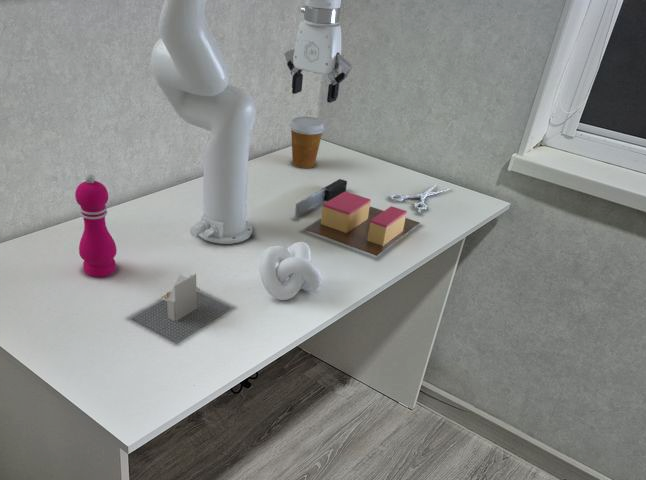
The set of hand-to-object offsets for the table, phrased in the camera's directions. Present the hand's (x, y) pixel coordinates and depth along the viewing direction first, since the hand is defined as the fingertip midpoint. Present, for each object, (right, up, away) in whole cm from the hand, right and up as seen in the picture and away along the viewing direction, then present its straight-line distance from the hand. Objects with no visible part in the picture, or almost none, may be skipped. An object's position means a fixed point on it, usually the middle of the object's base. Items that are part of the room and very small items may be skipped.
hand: (313, 96), depth 150 cm
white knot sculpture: (-8, -48, -24) cm, 54 cm away
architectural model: (-27, -53, -32) cm, 67 cm away
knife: (+2, -23, +10) cm, 25 cm away
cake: (+7, -29, +1) cm, 30 cm away
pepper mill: (-45, -43, -21) cm, 66 cm away
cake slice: (+16, -33, -4) cm, 37 cm away
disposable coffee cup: (0, -7, +32) cm, 33 cm away
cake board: (+11, -31, 0) cm, 33 cm away
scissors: (+30, -20, +17) cm, 40 cm away
